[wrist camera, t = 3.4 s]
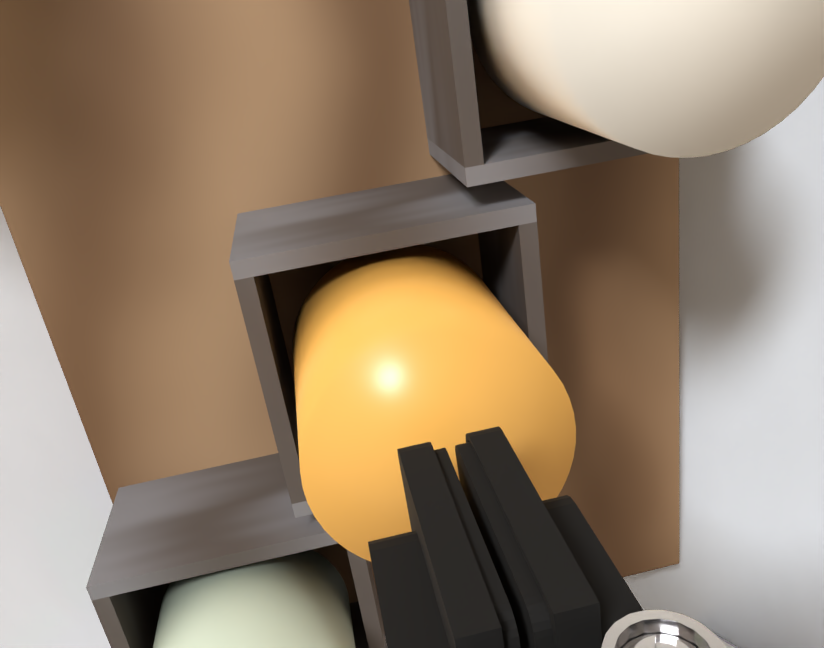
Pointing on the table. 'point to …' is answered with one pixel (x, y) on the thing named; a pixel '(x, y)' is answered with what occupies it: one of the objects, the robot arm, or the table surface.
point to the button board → (311, 260)
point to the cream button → (655, 66)
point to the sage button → (259, 607)
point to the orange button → (413, 386)
